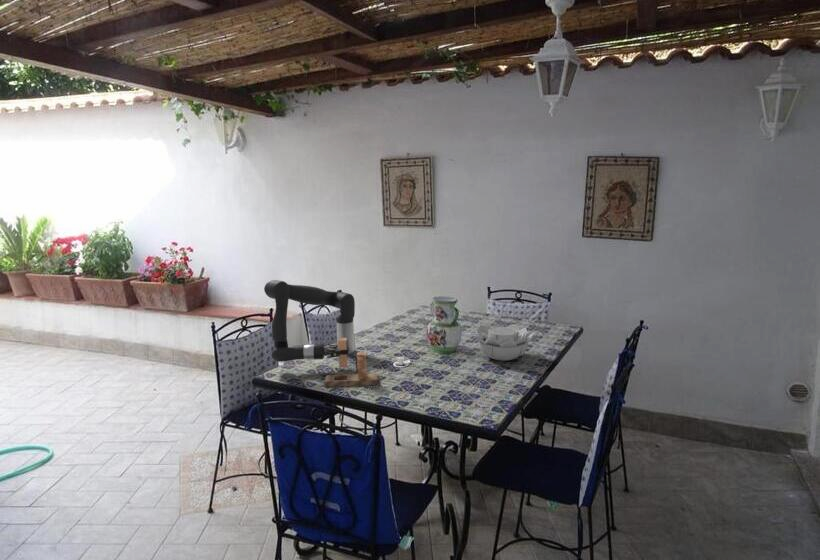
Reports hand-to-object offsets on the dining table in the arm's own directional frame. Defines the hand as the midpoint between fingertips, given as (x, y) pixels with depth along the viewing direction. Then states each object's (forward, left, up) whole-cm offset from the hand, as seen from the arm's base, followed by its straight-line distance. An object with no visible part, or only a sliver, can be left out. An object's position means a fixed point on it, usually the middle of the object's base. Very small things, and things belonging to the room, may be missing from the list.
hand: (348, 350), depth 258 cm
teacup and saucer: (-18, +21, -11) cm, 30 cm away
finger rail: (+13, +12, -10) cm, 20 cm away
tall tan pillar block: (+1, -2, -8) cm, 8 cm away
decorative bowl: (-55, +60, -10) cm, 82 cm away
